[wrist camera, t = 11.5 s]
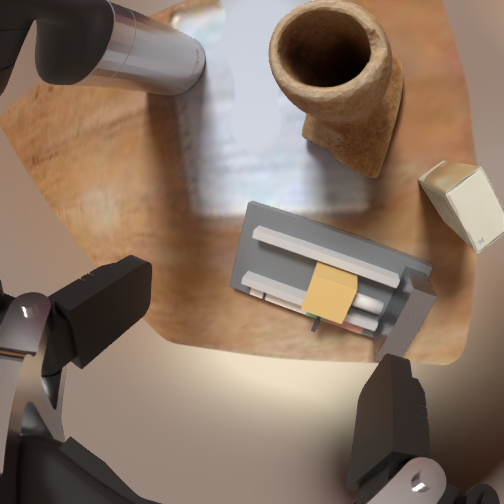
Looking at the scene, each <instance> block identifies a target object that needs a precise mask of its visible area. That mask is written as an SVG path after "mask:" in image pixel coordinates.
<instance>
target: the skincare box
mask: <svg viewBox="0 0 504 504" xmlns="http://www.w3.org/2000/svg"><path fill="white" fill-rule="evenodd" d="M418 181H419V183H420V185H421V186H422V188H423V189H424V191H425V193H426V194H427V196H428V198H429V199H430V201H431V202H432V204H433V206H434V207H435V209H436V210H437V212H438V214H439V215H440V217H441V218H442V220H443V221H444V222H445V223H446V224H447V225H448V226H449V227H450V228H451V229H452V230H454V231H455V232H456V233H457V234H458V235H459V236H460V237H461V238H462V239H463V240H464V241H465V242H466V243H467V244H468V245H469V246H470V247H471V248H472V249H473V250H474V251H475V252H476V253H477V254H478V253H479V252H481V251H482V250H483V249H485V248H486V247H487V246H489V245H490V244H491V243H493V242H494V241H495V240H497V239H498V238H499V237H500V236H502V235H503V234H504V208H503V207H502V204H501V202H500V200H499V198H498V196H497V194H496V192H495V190H494V188H493V186H492V185H491V182H490V181H489V179H488V177H487V175H486V174H485V172H484V170H483V169H482V167H479V166H473V165H467V164H462V163H456V162H449V161H442V162H440V163H439V164H437V165H436V166H435V167H433V168H432V169H430V170H429V171H428V172H426V173H425V174H424V175H422V176H421V177H420V178H419V179H418Z"/></svg>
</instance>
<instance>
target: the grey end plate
mask: <svg viewBox="0 0 504 504" xmlns="http://www.w3.org/2000/svg"><path fill="white" fill-rule="evenodd" d="M436 298H437V296H436V293H435V291H434V289H433V287H432V285H431V282H430V280H429V278H428V276H427V274H426V273H423V272H421V271H418V270H415V269H413V268H410V267H408V266H405V269H404V271H403V273H402V275H401V278H400V282H399V284H398V286H397V288H395V290H394V292H393V295H392V297H391V299H390V301H389V303H388V305H387V307H386V309H385V311H384V313H383V315H382V317H381V318H380V320H379V322H378V326H377V328H376V330H375V331H374V360H376V361H379V362H380V361H381V360H382V358H383V357H384V355H386V354H387V353H389V354H392V355H396V356H399V357H402V356H403V355H404V353H405V352H406V350H407V348H408V347H409V345H410V344H411V342H412V340H413V339H414V337H415V336H416V334H417V332H418V331H419V329H420V327H421V325H422V324H423V322H424V320H425V318H426V317H427V315H428V313H429V311H430V309H431V308H432V306H433V304H434V302H435V300H436Z"/></svg>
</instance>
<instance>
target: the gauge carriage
mask: <svg viewBox="0 0 504 504" xmlns="http://www.w3.org/2000/svg"><path fill="white" fill-rule="evenodd" d="M357 277H358V274H355V273H352V272H349V271H346V270H344V269H341V268H338V267H335V266H332V265H329V264H327V263H324V262H321V261H318V262H317V265H316V268H315V271H314V273H313V276H312V279H311V282H310V285H309V287H308V290H307V293H306V296H305V298H304V301H303V304H302V307H301V309H300V310H303V311H306V312H308V313H311V314H314V315H317V318H316V320H315V323H314V325H313V327H312V330H311V331H313V332H315V331H316V328H317V326H318V324H319V322H320V319H321V317H323V318H325V319H328V320H331V321H334V322H337V323H340V324H342V322H343V320H344V318H345V316H346V314H347V312H348V310H349V307H350V305H352V306H355V307H358V308H361V309H364V310H367V311H370V312H373V313H375V314H378V315H379V314H380V313H381V311H382V309H383V305H384V302H383V301H380V300H377V299H374V298H372V297H369V296H366V295H363V294H360V293H357Z"/></svg>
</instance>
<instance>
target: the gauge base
mask: <svg viewBox="0 0 504 504" xmlns="http://www.w3.org/2000/svg"><path fill="white" fill-rule="evenodd" d="M318 261H321V262H324V263H327V264H329V265H332V266H335V267H338V268H341V269H344V270H346V271H349V272H352V273H355V274H358V277H357V293H360V294H363V295H366V296H369V297H372V298H374V299H377V300H380V301H383V302H384V305H383V309H382V311H381V313H380V314H379V315H378V314H375V313H373V312H370V311H367V310H364V309H361V308H358V307H355V306H352V305H350V307H349V310H348V312H347V314H346V316H345V318H344V320H343V322H342V324H340V323H337V322H334V321H331V320H328V319H325V318H323V317H321V319H320V320H321V321H324V322H327V323H330V324H332V325H335V326H338V327H341V328H344V329H347V330H350V331H353V332H356V333H359V334H363V335H366V336H369V337H372V338H374V331H375V330H376V328H377V326H378V322H379V320H380V318H381V317H382V315H383V313H384V311H385V309H386V307H387V305H388V303H389V301H390V299H391V297H392V295H393V292H394V290H395V288H397V286H398V284H399V282H400V278H401V275H402V273H403V271H404V269H405V266H408V267H410V268H413V269H415V270H418V271H421V272H423V273H426V274H427V276H428V278H429V276H430V273H431V271H432V269H433V267H432V265H431V263H429V262H426V261H424V260H421V259H419V258H416V257H413V256H411V255H408V254H406V253H403V252H400V251H398V250H395V249H392V248H390V247H387V246H384V245H382V244H379V243H376V242H374V241H371V240H368V239H365V238H362V237H360V236H357V235H354V234H351V233H348V232H346V231H343V230H340V229H337V228H334V227H331V226H328V225H325V224H322V223H319V222H316V221H314V220H311V219H308V218H305V217H301V216H298V215H295V214H292V213H289V212H286V211H283V210H280V209H277V208H274V207H270V206H267V205H264V204H261V203H258V202H254V201H251V202H249V203H248V206H247V210H246V214H245V219H244V223H243V228H242V232H241V237H240V241H239V246H238V250H237V255H236V259H235V264H234V268H233V273H232V277H231V282H230V287H233V288H235V289H238V290H240V291H243V292H246V293H248V294H251V295H253V296H256V297H259V298H261V299H263V300H267V301H269V302H272V303H275V304H277V305H280V306H283V307H286V308H288V309H291V310H294V311H297V312H299V313H302V314H305V315H307V316H310V317H312V318H315V319H316V318H317V315H314V314H311V313H308V312H306V311H303V310H300V309H301V307H302V304H303V301H304V298H305V296H306V293H307V290H308V287H309V285H310V282H311V279H312V276H313V273H314V271H315V268H316V265H317V262H318Z"/></svg>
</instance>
